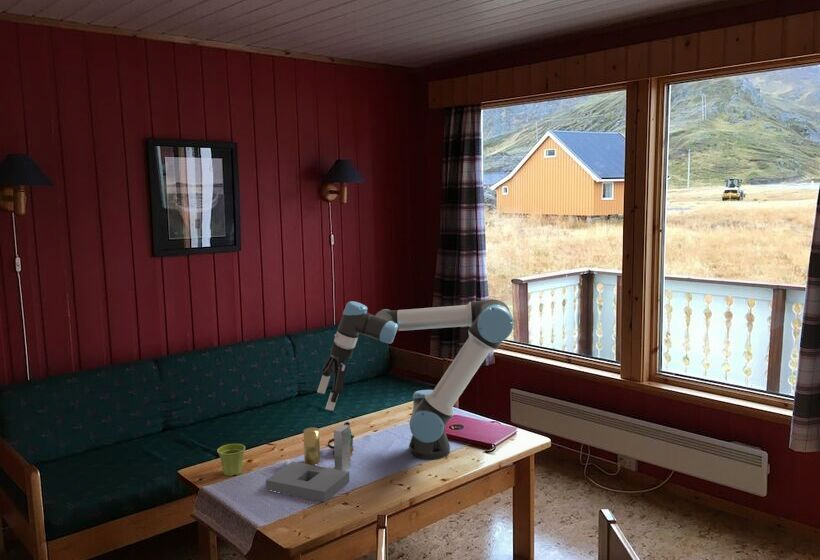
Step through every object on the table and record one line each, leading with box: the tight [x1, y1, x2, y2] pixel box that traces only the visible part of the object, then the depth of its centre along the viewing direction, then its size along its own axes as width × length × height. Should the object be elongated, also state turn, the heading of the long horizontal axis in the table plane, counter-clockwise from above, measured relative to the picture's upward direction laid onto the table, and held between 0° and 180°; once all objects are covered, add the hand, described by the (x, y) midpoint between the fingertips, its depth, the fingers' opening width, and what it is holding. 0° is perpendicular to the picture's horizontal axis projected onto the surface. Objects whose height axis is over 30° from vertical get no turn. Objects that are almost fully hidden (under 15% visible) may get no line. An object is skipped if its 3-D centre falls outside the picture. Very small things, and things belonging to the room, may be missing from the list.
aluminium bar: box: [333, 424, 352, 471], centre depth 236 cm, size 3×6×15 cm, turn 156°
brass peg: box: [303, 426, 321, 466], centre depth 243 cm, size 6×6×12 cm
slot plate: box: [265, 461, 350, 503], centre depth 224 cm, size 22×16×4 cm
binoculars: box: [327, 421, 355, 456], centre depth 252 cm, size 9×11×10 cm
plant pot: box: [216, 443, 246, 477], centre depth 235 cm, size 9×9×9 cm
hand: (324, 401), depth 238 cm, fingers open, 13 cm apart
